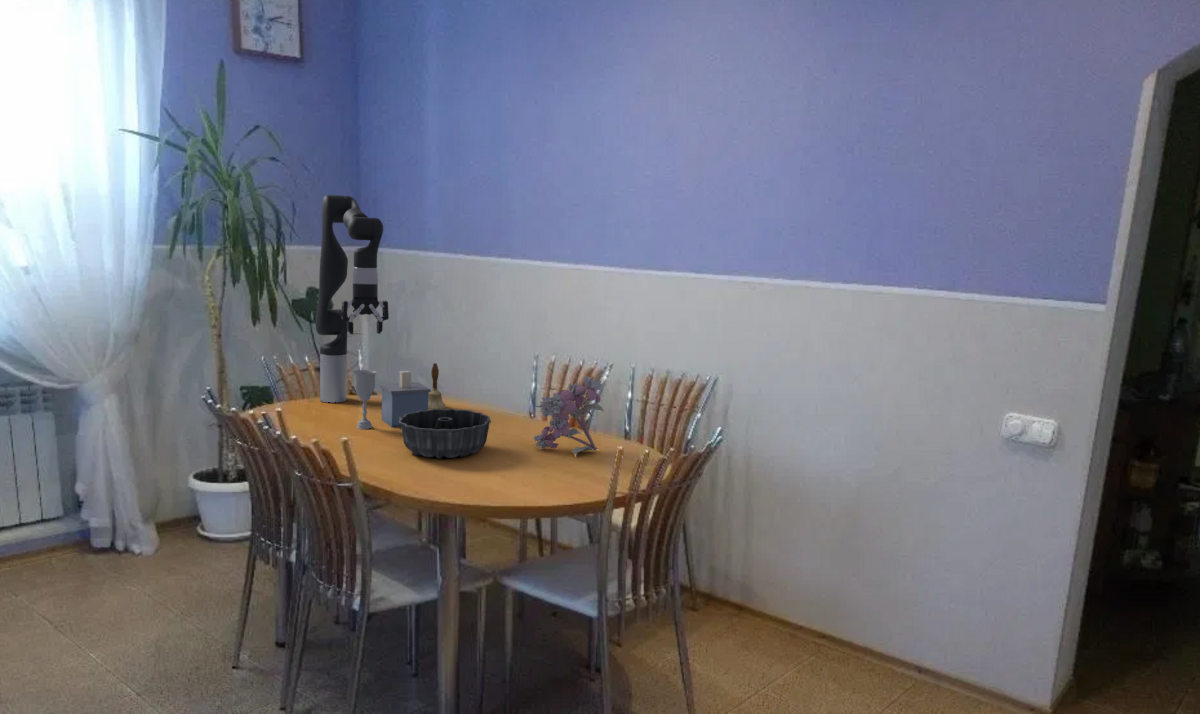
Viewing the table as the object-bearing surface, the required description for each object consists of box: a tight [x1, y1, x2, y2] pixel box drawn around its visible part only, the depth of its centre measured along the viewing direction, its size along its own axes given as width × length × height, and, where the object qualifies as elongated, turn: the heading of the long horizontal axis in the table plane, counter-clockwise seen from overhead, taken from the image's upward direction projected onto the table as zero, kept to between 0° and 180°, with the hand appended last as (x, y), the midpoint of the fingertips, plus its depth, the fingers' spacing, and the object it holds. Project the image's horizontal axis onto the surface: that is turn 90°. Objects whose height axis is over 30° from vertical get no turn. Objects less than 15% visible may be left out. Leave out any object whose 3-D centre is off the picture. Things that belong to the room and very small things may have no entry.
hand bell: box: [428, 363, 447, 410], centre depth 307 cm, size 8×8×16 cm
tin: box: [381, 388, 429, 428], centre depth 282 cm, size 12×12×11 cm
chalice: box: [352, 369, 377, 430], centre depth 272 cm, size 7×7×18 cm
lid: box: [379, 370, 432, 394], centre depth 281 cm, size 13×13×7 cm
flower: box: [531, 373, 605, 456], centre depth 254 cm, size 20×22×25 cm
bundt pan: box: [399, 408, 492, 460], centre depth 249 cm, size 26×26×10 cm
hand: (365, 333), depth 269 cm, fingers open, 8 cm apart
